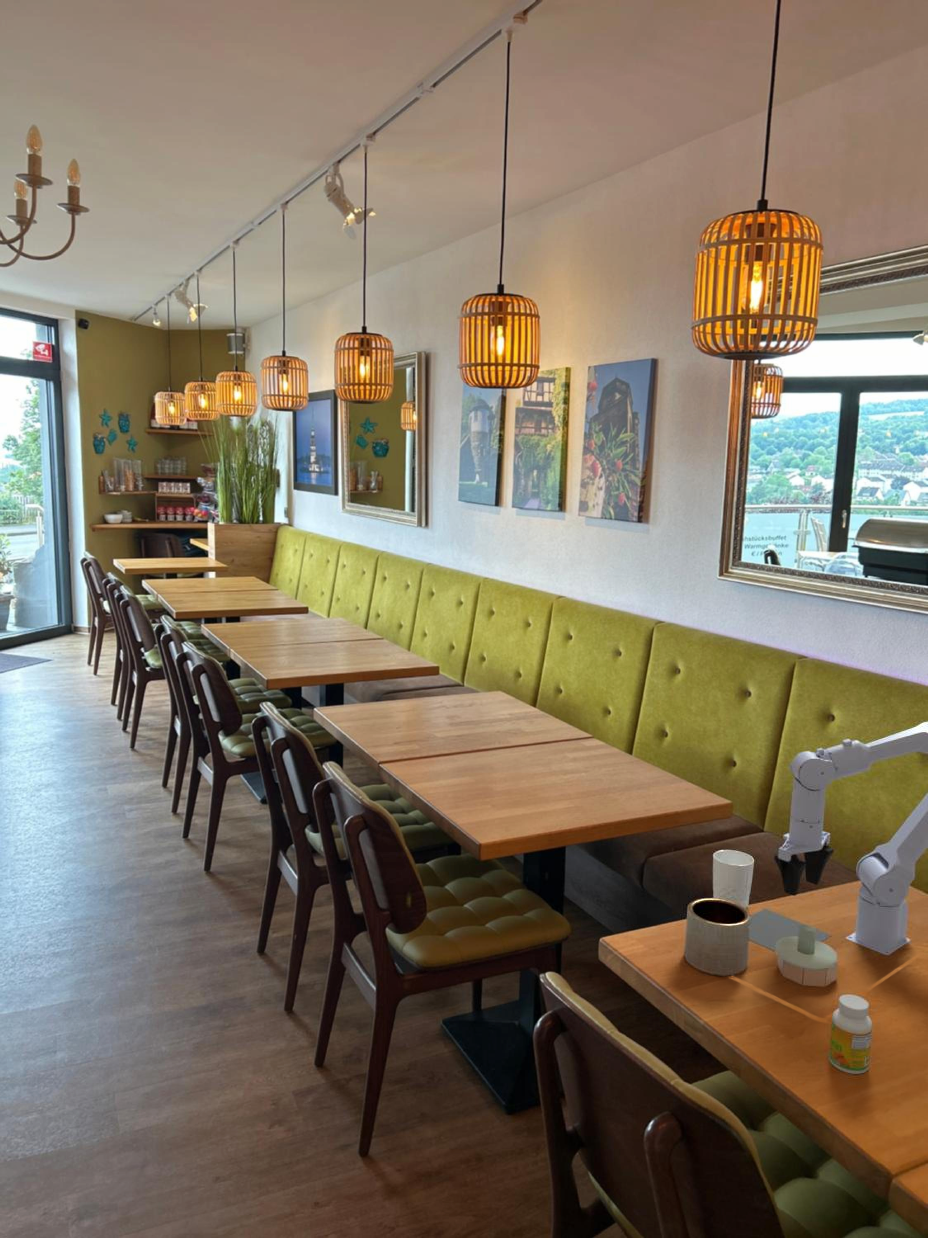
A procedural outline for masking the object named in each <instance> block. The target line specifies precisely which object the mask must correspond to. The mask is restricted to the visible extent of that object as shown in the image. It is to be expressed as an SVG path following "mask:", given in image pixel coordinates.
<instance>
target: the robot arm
mask: <svg viewBox="0 0 928 1238" xmlns="http://www.w3.org/2000/svg"><path fill="white" fill-rule="evenodd" d="M841 742H842V743H841V744H838V745H833V746H831V747H828V748H822V747H819V748H816V752H814V751H810V750H809V751H808V750H807V751H806V750H805V751H802V752H799V753H797V754H796V756H794V758H793V759H792V761H791V763H790V764H789V770H790V773H791V775H792V776H793V785H792V791H791V792H792V793H791V804H790V806H791V807H790V818H789V830H788V831H789V832H788V833H785V834H783V839H784V840H785V842H783V845H782V846H780V847H779V848H778V852H775V853H774V854H773V855H774V857H773V859H774V861H775V863H776V865H777V868H778V870H779V872H780V876H781V881H782V885H783V890H784V893H786V894H789V895H791V896H794V897H795V896H797V894H798V891H799V888H800V883H801V878H802V875H803V873H804V874H805V880H806V882H807V883H811V884H813V885H815V886H818V885H819V884H820V881H821V877H822V875H823V872H824V869H825V866H826V865H827V862H828V861H829V860H830V858H831V856H832V855H833V854H834V852H835V851H834V848H833V847H831V846H829V845H828V844H831V843H830V842H831V841H830V840H831V833H830V832H827V831H823V830H824V818H825V804H826V791H827V790H826V789H827V788H828V787H829V785H830V784H831V783H832V781H836V780H839V779H843V778H847V777H850V776H854V775H857V774H860V773H861V774H862V773H865V772H867V771H869V769H870V768H871V766H872V764H873V763H874V762H879V761H883V760H887V759H891V758H896V757H902V756H904V755H909V754H913V753H917V752H918V753H922V754H926V755H928V721H924V722H921V723H920V724H918V725H916V726H915V727H911V728H909V729H905V730H903V731H899V732H897V733H893V734H891V735H888V736H886V737H883V738H880V739H877V740H874V741H870V742H868V743H863V742H861V741H859V740H857V739H856V740H855V739H854V740H851V739H850V738H847V739H843V740H842V741H841ZM927 849H928V792H926V794H925V795H924V797H923V798H922V800H921V801H920V802H919V803H918V805H917V806H916V807H915V808H914V809H913V811H912V812H911V813H910V815H909V816H908V817H907V818H906V819H905V821H904V822H903V823H902V825H901V826H900V827H899V829H898V830H897V832H895V833H894V835H893V836H892V837H891V839H890V840H889V841H888V842H886V843H883V844H879V845H877V846H876V847H875V848H874V850H873V851H871V852H870V853H868V854H865V855H863V856H862V857H861V858H860V859H858V861H857V864H856V867H855V868H856V869H855V872H856V875H857V877H858V879H859V880H860V882H861V886H860V888H859V890H858V898H857V914H856V924H855V931H854V932H853V933H852V934H850V935H847V936H846V937H845V939H846V940H848V941H850V942H853V943H855V944H858V945H860V946H863V947H865V948H867V949H871V950H873V951H875V952H878V953H880V954H882V955H885V956H890V955H891V954H893V953H894V952H896V951H897V950H898V949H900V948H902V947H903V946H904V945H906V944H908V943H910V942H911V939H910V938H908V937H906V935H907V925H908V916H909V906H908V903H907V901H906V898H907V896H908V894H909V889H910V886H911V884H912V882H913V881H914V880H915V877H916V863H917V861H918V860H919V859H920V857H921V856H922V855H923V854H924V852H925V851H926V850H927ZM801 854H803V857H804V861H802V860H800V858H799V857H798V856H799V855H801ZM804 871H805V872H804Z"/></svg>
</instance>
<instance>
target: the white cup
mask: <svg viewBox="0 0 928 1238" xmlns="http://www.w3.org/2000/svg"><path fill="white" fill-rule="evenodd" d="M712 858H713V859H712V890H713V897H712V898H717V899H723V900H728V901H731V902H734V903H737V904H739V905H741V906H743V907H744V908H745V909H747V907H749V902H750V901H749V900H750V894H751V888H752V882H753V876H754V875H753V874H754V865H755V859H754V858H753V856H751V854H748V853H745V852H743V851H740V850H734V849H733V850H732V849H721V850H718V851H715V852H713V854H712Z"/></svg>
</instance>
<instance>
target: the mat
mask: <svg viewBox="0 0 928 1238" xmlns="http://www.w3.org/2000/svg"><path fill="white" fill-rule="evenodd" d="M800 925H806V924H804V923H802V922H799V921H797V920H795V919H792V918H790V917H788V916H785V915H783V914H781V913H778V912H775V911H773V910H771V909H768V908H763V909H762V910H760V911H759V910H758V911H757V912H755V913H754V914H750V934H749V942H752V943H755V944H757V945H758V946H762V947H764V948H766V949H767V950H771V951H773V952H775V944H776V942H777V941H778V940H779V939H781V938H785V937H792V936H796V937H798V932H799V926H800ZM815 929H816V940H817V941H820V942H822V943H823V941H826V940H827V939H829V938H830V937H832V936H833V935H831V934H829V933H827V932H824V931H822V930H820V929H817V928H815Z"/></svg>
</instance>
